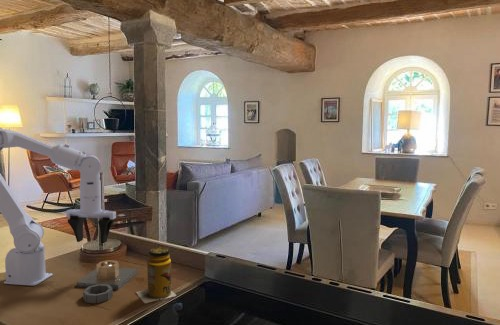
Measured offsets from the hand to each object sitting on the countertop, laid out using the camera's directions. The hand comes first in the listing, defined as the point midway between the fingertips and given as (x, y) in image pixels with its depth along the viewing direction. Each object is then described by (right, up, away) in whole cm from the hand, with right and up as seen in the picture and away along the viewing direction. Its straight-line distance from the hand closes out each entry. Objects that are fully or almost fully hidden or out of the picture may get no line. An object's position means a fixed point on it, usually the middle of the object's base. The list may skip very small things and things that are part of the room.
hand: (91, 241), depth 116 cm
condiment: (+22, -11, -13) cm, 28 cm away
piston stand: (+6, -10, -4) cm, 12 cm away
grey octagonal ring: (+8, -11, -15) cm, 20 cm away
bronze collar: (+6, -9, -4) cm, 11 cm away
